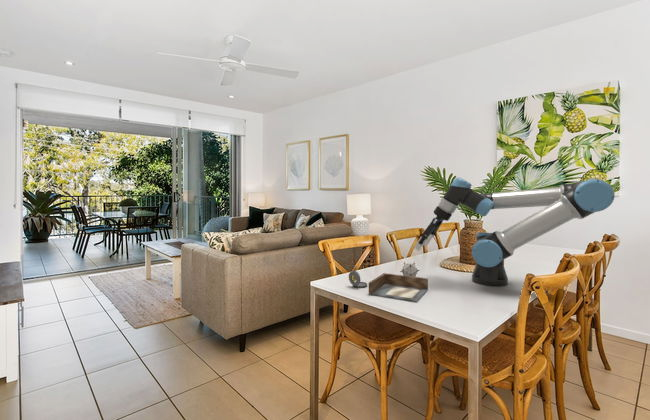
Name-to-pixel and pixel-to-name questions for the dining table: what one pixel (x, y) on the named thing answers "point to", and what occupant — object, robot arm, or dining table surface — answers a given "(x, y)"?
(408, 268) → the game die
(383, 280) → the tray
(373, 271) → the dining table surface
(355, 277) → the pocket watch
